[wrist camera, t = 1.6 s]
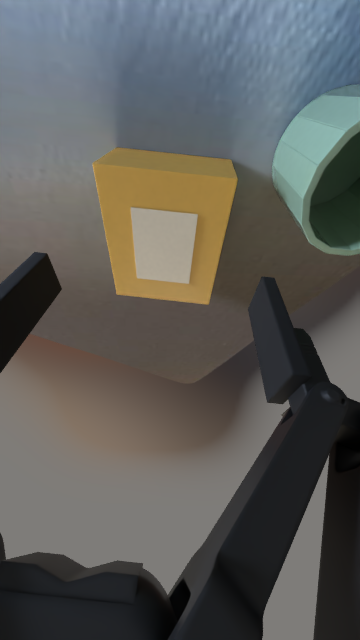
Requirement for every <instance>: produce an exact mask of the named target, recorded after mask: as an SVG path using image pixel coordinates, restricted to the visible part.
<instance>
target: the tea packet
mask: <svg viewBox="0 0 360 640" xmlns="http://www.w3.org/2000/svg"><path fill="white" fill-rule="evenodd" d="M93 169H94V174H95V179H96V185H97V190H98V195H99V201H100V206H101V212H102V217H103V222H104V228H105V233H106V238H107V244H108V249H109V254H110V260H111V265H112V271H113V276H114V281H115V287H116V292H117V295H126V296H135V297H144V298H153V299H163V300H172V301H181V302H190V303H199V304H209V301H210V297H211V293H212V288H213V284H214V280H215V275H216V271H217V267H218V263H219V258H220V254H221V250H222V246H223V241H224V237H225V233H226V228H227V224H228V220H229V216H230V211H231V207H232V203H233V199H234V194H235V190H236V186H237V181H238V178H237V175H236V172H235V169H234V167H233V164H232V161H231V160H229V159H220V158H211V157H202V156H192V155H183V154H174V153H165V152H155V151H146V150H137V149H128V148H118V147H117V148H115V149H114V150H112V151H110V152H109V153H107V154H106V155H104V156H103V157H101V158H100V159H98V160H97V161H95V162H94V163H93Z"/></svg>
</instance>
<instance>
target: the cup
mask: <svg viewBox="0 0 360 640" xmlns="http://www.w3.org/2000/svg"><path fill="white" fill-rule="evenodd" d="M272 181H273V185H274V188H275V191H276V193H277V194H278V196H279V198H280V200H281V202H282V203H283V205H284V206H285V208H286V209H287V211H288V212H289V213H290V215H291V216H292V218H293V219H294V221H295V222H296V224H297V225H298V227H299V228H300V230H301V231H302V233H303V234H304V236H305V237H306V239H307V240H308V242H309V243H310V244H312V245H313V246H315V247H317V248H318V249H320V250H321V251H323V252H324V253H327V254H336V255H345V256H351V255H356V254H360V85H347V86H344V87H339V88H336V89H333V90H330V91H328V92H326V93H324V94H322V95H320V96H319V97H317V98H316V99H314V100H313V101H312V102H310V103H309V104H308V105H306V106H305V107H304V108H303V109H302V110H301V111H300V112H299V113H298V114H297V115H296V117H295V118H294V119H293V120H292V121H291V123H290V124H289V126H288V127H287V128H286V130H285V132H284V134H283V135H282V137H281V139H280V141H279V143H278V146H277V149H276V151H275V155H274V159H273V164H272Z"/></svg>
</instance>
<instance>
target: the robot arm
mask: <svg viewBox="0 0 360 640" xmlns="http://www.w3.org/2000/svg"><path fill="white" fill-rule="evenodd" d="M61 290H62V288H61V286H60V283H59V281H58V278H57V276H56V274H55V271H54V269H53V266H52V264H51V261H50V259H49V257H48V254H47V253H38V252H34V253H33V254H32V255H31V256H30V257H29V258H28V259H27V260H26V261H25V262H23V263H22V264H21V265H20V266H19V267H18V268H17V269H16V270H15V271H14V272H13V273H12V274H11V275H9V276H8V277H7V278H6V279H5V280H4V281H3V282H2V283H1V284H0V373H1V372H2V370H3V369H4V368H5V366H6V365H7V363H8V362H9V361H10V359H11V357H13V355H14V354H15V352H16V351H17V350H18V348H19V347H20V346H21V344H22V343H23V342H24V340H25V339H26V337H27V336H28V335H29V333H30V332H31V331H32V329H33V328H34V327H35V325H36V324H37V323H38V321H39V320H40V318H41V317H42V316H43V314H44V313H45V312H46V310H47V309H48V308H49V306H50V305H51V303H52V302H53V301H54V299H55V298H56V297H57V295H58V294H59V293H60V291H61ZM248 311H249V316H250V321H251V326H252V331H253V336H254V341H255V346H256V350H257V355H258V360H259V365H260V370H261V375H262V379H263V385H264V389H265V394H266V399H267V402H268V403H277V404H283V403H284V402H286V401H287V400H289V404H290V408H289V409H287V410H286V411H285V412H284V413H283V414H282V416H283V418H282V419H281V421H280V423H279V424H278V426H277V427H276V429H275V430H274V432H273V434H272V435H271V437H270V439H269V440H268V442H267V443H266V445H265V446H264V448H263V450H262V451H261V453H260V454H259V456H258V458H257V459H256V461H255V462H254V464H253V466H252V467H251V469H250V471H249V472H248V473H247V475H246V477H245V479H244V480H243V481H242V483H241V485H240V486H239V488H238V489H237V491H236V493H235V494H234V496H233V497H232V499H231V501H230V502H229V504H228V505H227V507H226V509H225V510H224V512H223V513H222V515H221V517H220V518H219V520H218V521H217V523H216V524H215V526H214V528H213V529H212V531H211V533H210V534H209V536H208V537H207V539H206V541H205V542H204V543H203V545H202V546H201V548H200V549H199V550H198V551H197V552H196V553H195V554H194V556H193V557H192V558H191V560H190V561H189V563H188V564H187V566H186V567H185V569H184V571H183V572H182V574H181V575H180V577H179V578H178V580H177V582H176V583H175V585H174V586H173V588H172V589H171V591H170V593H169V594H168V595H167V593H166V591H165V590H164V588H163V587H162V585H161V584H160V582H159V581H158V580H157V579H156V578H155V577H154V576H153V575H152V574H151V573H150V572H148V571H147V570H145V569H143V568H142V566H143V563H133V562H124V561H114V562H111V563H107V564H103V565H100V566H96V567H92V568H85V567H84V566H82V565H80V564H78V563H77V562H75V561H73V560H71V559H70V558H68V557H66V556H64V555H60V554H50V553H40V552H37V553H32V554H28V555H24V556H19V557H16V558H11V559H7V560H6V557H5V550H4V543H3V538H2V536H1V534H0V640H262V636H263V614H264V610H265V607H266V604H267V602H268V599H269V597H270V595H271V592H272V590H273V587H274V585H275V582H276V580H277V578H278V575H279V573H280V571H281V568H282V566H283V563H284V561H285V559H286V556H287V554H288V551H289V549H290V547H291V544H292V542H293V539H294V537H295V534H296V532H297V530H298V527H299V525H300V523H301V520H302V518H303V515H304V513H305V511H306V508H307V506H308V503H309V501H310V498H311V496H312V494H313V491H314V489H315V487H316V484H317V482H318V479H319V477H320V475H321V472H322V470H323V467H324V465H325V463H326V460H327V458H328V455H329V466H328V478H327V488H326V500H325V512H324V523H323V535H322V546H321V558H320V570H319V581H318V593H317V604H316V616H315V628H314V639H313V640H360V403H359V402H357V401H354V400H352V399H349V398H347V397H346V395H345V394H344V392H343V391H342V390H341V389H340V388H338V387H337V386H336V385H334V384H332V383H331V382H330V381H329V378H328V376H327V374H326V372H325V369H324V367H323V365H322V362H321V360H320V358H319V356H318V355H317V351H316V349H315V347H314V344H313V342H312V340H311V337H310V336H309V335H308V334H307V333H306V332H305V331H304V330H303V329H298V328H293V325H292V323H291V320H290V318H289V315H288V312H287V310H286V307H285V304H284V302H283V299H282V297H281V294H280V291H279V289H278V286H277V284H276V281H275V278H271V277H261V280H260V282H259V284H258V287H257V289H256V292H255V294H254V296H253V299H252V301H251V303H250V306H249V308H248ZM329 453H330V454H329Z"/></svg>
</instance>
